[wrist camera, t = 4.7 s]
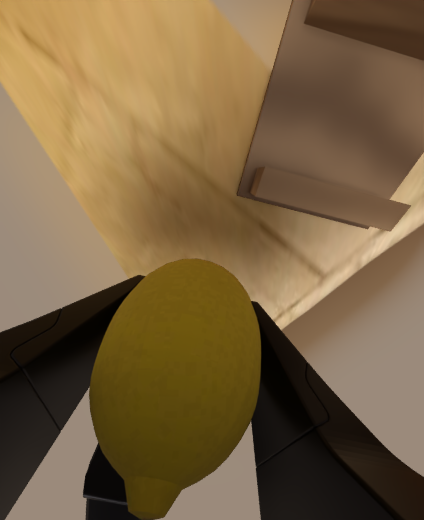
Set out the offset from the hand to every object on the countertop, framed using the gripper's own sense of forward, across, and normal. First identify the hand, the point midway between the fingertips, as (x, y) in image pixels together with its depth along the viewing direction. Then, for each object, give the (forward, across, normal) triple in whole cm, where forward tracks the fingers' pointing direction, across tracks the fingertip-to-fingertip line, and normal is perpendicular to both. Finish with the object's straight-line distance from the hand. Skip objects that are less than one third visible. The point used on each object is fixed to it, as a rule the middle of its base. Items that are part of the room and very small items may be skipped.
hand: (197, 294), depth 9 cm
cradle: (+10, -8, -11) cm, 17 cm away
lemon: (+2, 0, 0) cm, 2 cm away
